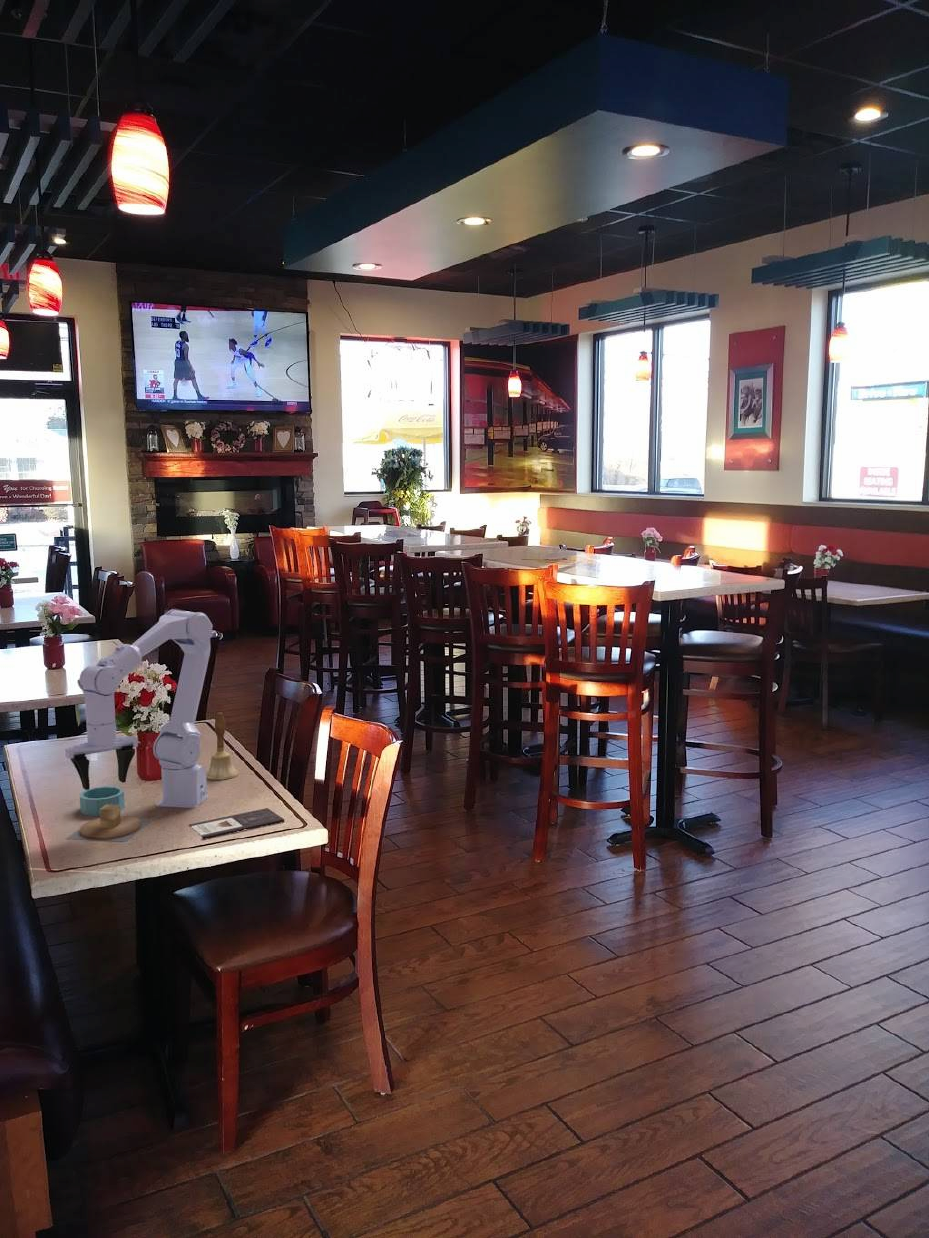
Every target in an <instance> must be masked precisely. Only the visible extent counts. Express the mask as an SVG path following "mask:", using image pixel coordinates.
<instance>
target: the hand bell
mask: <svg viewBox="0 0 929 1238" xmlns="http://www.w3.org/2000/svg"><path fill="white" fill-rule="evenodd" d="M214 731H215V734H216V737H217V738H216V751H215V752H214V753H213V754H211V755H210V756H211V759H210V765H209V767H208V770H206V780H212V781H216V780H218V781H222V780H228V779H232V778H235V777H237V776H238V775H239V772H238V770H237V769H235V767H234V766H233V763H232V761H231V760H232V759H231V754H230V753H229V752H227V751H225V741H224V736H225V732H226V720H225V717H224V714H223V712H221V711H220V712H217V713H216V718H215V720H214Z"/></svg>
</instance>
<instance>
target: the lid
mask: <svg viewBox="0 0 929 1238" xmlns="http://www.w3.org/2000/svg"><path fill="white" fill-rule="evenodd" d="M99 817H100V818H97V819H95V818H93V819H94V820H93V819H91V820H90V821H86V822H85V823H83V824H82V825H81V826H80V828H79V829H80V833H81V835H82V836H84V837H86V838H90V839H113V838H119V837H123V836H127V835H129V834H132V833H134V832H136V831H137V830H139V829H140V827H141V821H140V820H139V819H140V818H137V817H135V816H131V815H121V811H120V805H108V804H106V805H105V806H103V807H102V808H101V809H100V816H99Z"/></svg>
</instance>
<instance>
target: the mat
mask: <svg viewBox="0 0 929 1238" xmlns="http://www.w3.org/2000/svg"><path fill="white" fill-rule="evenodd" d="M97 818H100V816H95V818H93V819H92V820H94V819H97ZM138 819H139V820H140V821H141V827H140V829H139V830H137V831H136V832H134V833H132V834H129V835H127V836H123V837H119V838H113V839H90V838H86V837H84V836H82V835H81V833H80V828H79V829H77V830H76V831H74V832H73V833H72V834H70V835H69V836H68V837H66V838H65V840H77V841H94V842H95V841H96V842H98V841H99V842H118V843H121V842H123V843H127V842H128V841H130V840H131V839H132V838H133V837H135V835H137V834H138V833H139V832H141V831H142V830H143V829H144V828H145V827H146V826H148V825H149V824H151V822H153V821H154V819H153V818H152V819H149V818H138Z"/></svg>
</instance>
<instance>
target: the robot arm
mask: <svg viewBox="0 0 929 1238" xmlns="http://www.w3.org/2000/svg"><path fill="white" fill-rule="evenodd" d="M213 627H214V626H213V624H212V622H211V620H210V619H209V617H208V615H207V614H206V613H204V612H201V611H200V612H199V611H198V612H197V611H196V612H193V611H185V610H179V609H170V610H168V611H166V613H165V614H163V615H161V616H159V620H158V622H157V623H155V624H154V625H153V626H152V627H150V629H149V630H147V631H146V632H145V633H144V634H143V635H141V636H140V637H139V638H138V639H137V640H135V641H134V642H133V643H131V644H129V643H124V644H117V646H115V647H114V650H113V651H112V652H111V653H110V654H108V655H106V656H105V657H104V658H102V657H101V658H100V659H99V660H98V662H97V663H96V664H90V665H88V666H86V667H85V668H83V670H82V671H81V672H80V674H79V679H77V685H78V687H79V689H80V690H81V691H82V693H83V699H84V703H85V719H86V720H85V722H86V737H87V741H86V742H84V743H83V742H82V743H80V744H75V745H73V746H68V747H65V757H66V759H69V760H70V761H71V763H72V764H73V766H74V767H75V769H76V772H77V774H78V776H79V779H80V782H81V786H82V789H83V790H84V791H85V790H89V789H91V788H90V776H89V775H90V773H89V770H90V759H88V757H87V755H93V754H99V753H103V752H108V751H115V754H116V758H117V773H118V774H117V777H118V781H119V782H121V783H126V782H127V776H128V775H127V774H128V772H129V768H130V765H131V762H132V761H133V758H134V756H135V755H136V749H135V748H137V747H139V738H138V737H137V736H134V735H133V736H124V737H117V726H116V725H117V723H116V708H115V705H116V704H115V692H117V690H118V689H119V687H120V684H121V682H122V681H123V679H125V678H126V677H127V676H128V675H130V674H132V672H133V671H135V670H136V669H137V668H139V667H140V666H141V665H142V661H143V657H144V656H147V654H149V653H151V651H154V650H156V649H157V648H158V647H160V646H161V645H162V644H164V643H166V642H167V641H168V640H172V641H174V643H176V644H177V645H178V646H179V647H180V649H181V651H183V653H184V655H183V659H182V665H181V669H180V673H179V678H178V682H177V687H176V693H175V696H174V701H173V705H172V710H171V714H170V719H169V721H168V722H166V723H165V724H163V725H162V726H161V727H160V731H159V734H158V736H157V738H156V739H155V740H154V742H153V746H152V747H153V748H152V749H153V750H152V751H153V755H154V757H155V758H156V759H157V760H158V762H159V765H160V766H161V767H160V768H161V786H162V787H161V789H162V791H161V792H162V799H161V800H160V801H159V802H157V803H156V804H155V807H166V808H167V807H169V808H191V809H195V808H197V807H199V805H201V804H202V803H203V802H204V801H205V800H207V799H208V798H209V795H208V791H207V790H208V787H207V785H208V780H207V778H206V772H207V770H206V767H205V766H203V765H200V764H197V762H198V761H199V759H200V756H201V754H202V753H201V752H202V748H201V738H202V734H201V732H200V731H199V730H198V729H197V727H196V719H197V715H198V714H197V713H198V709H199V705H200V702H201V701H200V700H201V695H202V693H203V692H202V691H203V686H204V682H205V678H206V677H205V676H206V673H207V670H208V663H209V660H210V656H211V649H212V648H211V637H212V631H213Z"/></svg>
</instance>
